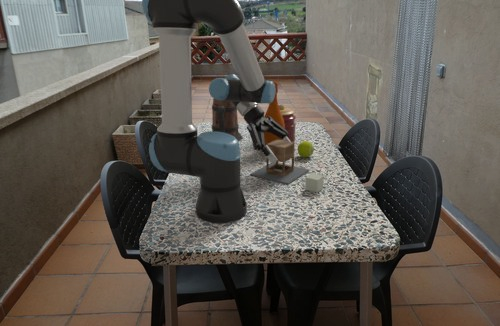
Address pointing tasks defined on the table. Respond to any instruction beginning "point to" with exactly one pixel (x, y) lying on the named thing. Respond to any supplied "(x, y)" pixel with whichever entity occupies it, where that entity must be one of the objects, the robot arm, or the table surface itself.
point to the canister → (288, 121)
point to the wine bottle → (273, 117)
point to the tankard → (225, 118)
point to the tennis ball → (305, 149)
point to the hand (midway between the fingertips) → (285, 156)
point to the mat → (286, 179)
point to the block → (314, 182)
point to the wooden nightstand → (281, 157)
